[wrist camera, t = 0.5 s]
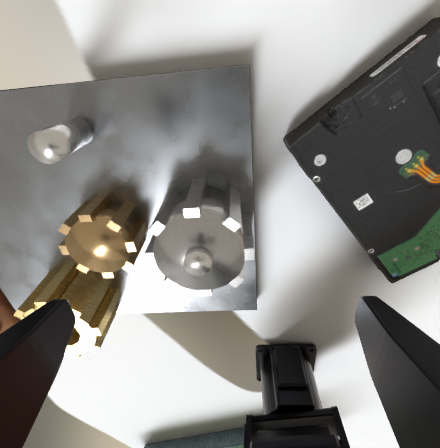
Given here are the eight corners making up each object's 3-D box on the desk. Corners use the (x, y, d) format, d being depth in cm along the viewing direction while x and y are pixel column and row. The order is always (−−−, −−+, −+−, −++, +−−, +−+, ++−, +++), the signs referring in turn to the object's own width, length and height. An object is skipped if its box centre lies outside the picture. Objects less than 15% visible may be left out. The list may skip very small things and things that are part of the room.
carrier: (256, 300, 27) (261, 362, 21) (27, 306, 29) (-22, 365, 23) (248, 64, 16) (254, 68, 11) (-108, 101, 19) (-250, 120, 13)
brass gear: (129, 316, 27) (112, 358, 23) (63, 317, 28) (36, 358, 24) (108, 261, 24) (84, 300, 20) (33, 265, 24) (-4, 303, 20)
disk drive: (278, 139, 19) (377, 265, 24) (283, 150, 17) (393, 287, 22) (429, 14, 15) (510, 195, 21) (464, 5, 13) (546, 214, 18)
